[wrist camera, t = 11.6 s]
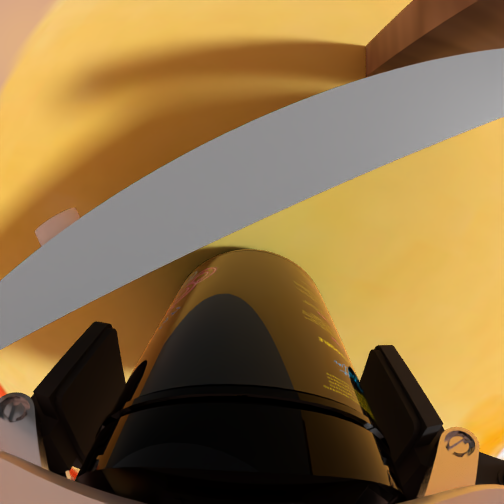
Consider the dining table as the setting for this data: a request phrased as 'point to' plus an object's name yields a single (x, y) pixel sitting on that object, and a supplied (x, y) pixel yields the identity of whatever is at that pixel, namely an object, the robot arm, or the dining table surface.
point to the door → (247, 181)
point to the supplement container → (244, 400)
